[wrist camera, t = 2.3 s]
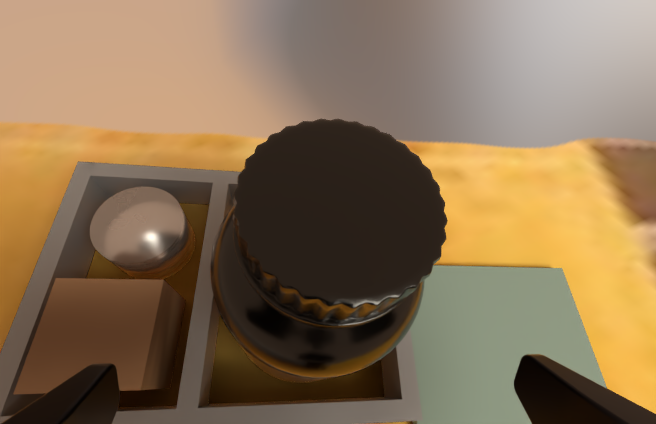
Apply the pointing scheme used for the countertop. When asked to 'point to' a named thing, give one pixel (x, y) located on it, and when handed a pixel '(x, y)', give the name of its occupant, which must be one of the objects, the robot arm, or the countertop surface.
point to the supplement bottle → (326, 249)
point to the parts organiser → (193, 400)
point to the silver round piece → (143, 233)
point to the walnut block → (105, 333)
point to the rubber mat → (492, 339)
